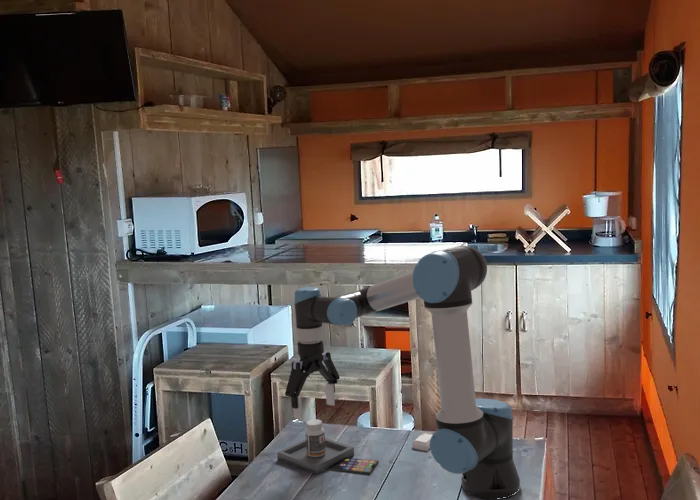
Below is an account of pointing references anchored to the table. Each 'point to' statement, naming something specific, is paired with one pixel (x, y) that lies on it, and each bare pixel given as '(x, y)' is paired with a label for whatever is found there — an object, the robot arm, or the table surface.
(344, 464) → the smartphone
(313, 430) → the pill bottle
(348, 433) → the table surface
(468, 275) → the robot arm
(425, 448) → the soap bar
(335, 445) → the slate tray
